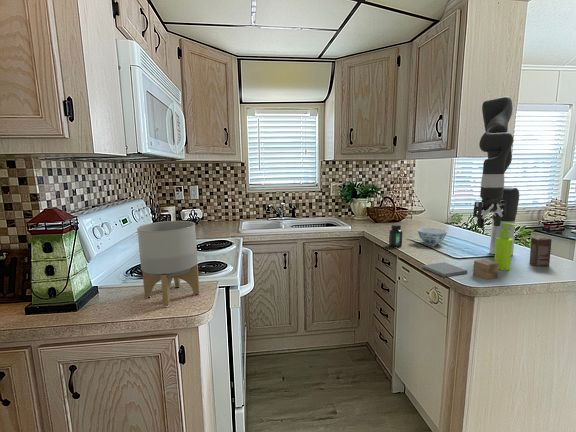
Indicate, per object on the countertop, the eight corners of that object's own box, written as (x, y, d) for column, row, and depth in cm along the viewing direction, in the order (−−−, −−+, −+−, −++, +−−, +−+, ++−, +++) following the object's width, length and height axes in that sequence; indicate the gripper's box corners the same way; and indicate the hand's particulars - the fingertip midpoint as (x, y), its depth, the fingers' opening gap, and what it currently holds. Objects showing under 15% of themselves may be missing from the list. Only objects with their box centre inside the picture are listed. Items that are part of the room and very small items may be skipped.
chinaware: (451, 244, 177) (452, 230, 176) (436, 248, 169) (437, 234, 168) (426, 239, 190) (427, 226, 188) (411, 243, 181) (412, 230, 180)
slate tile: (444, 264, 143) (444, 262, 142) (467, 273, 131) (467, 270, 131) (422, 267, 139) (423, 265, 139) (444, 276, 128) (444, 274, 127)
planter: (203, 284, 125) (198, 219, 120) (195, 305, 106) (189, 229, 102) (153, 287, 122) (147, 221, 118) (136, 309, 104) (128, 232, 100)
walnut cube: (484, 272, 132) (485, 259, 131) (497, 277, 126) (498, 263, 125) (473, 274, 130) (474, 260, 129) (486, 279, 124) (487, 265, 123)
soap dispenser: (507, 271, 132) (512, 224, 129) (490, 267, 138) (494, 222, 135) (515, 269, 135) (520, 223, 131) (498, 265, 141) (502, 221, 137)
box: (541, 262, 143) (544, 236, 141) (549, 266, 138) (552, 239, 136) (528, 263, 143) (530, 237, 141) (535, 266, 138) (538, 239, 136)
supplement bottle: (400, 248, 171) (401, 226, 169) (387, 247, 174) (388, 225, 172) (403, 245, 177) (403, 224, 175) (390, 244, 180) (391, 223, 178)
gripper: (496, 184, 128) (493, 224, 130) (469, 186, 124) (466, 226, 126) (515, 185, 121) (511, 227, 123) (487, 187, 116) (483, 230, 119)
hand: (488, 227), depth 125 cm, fingers open, 8 cm apart
